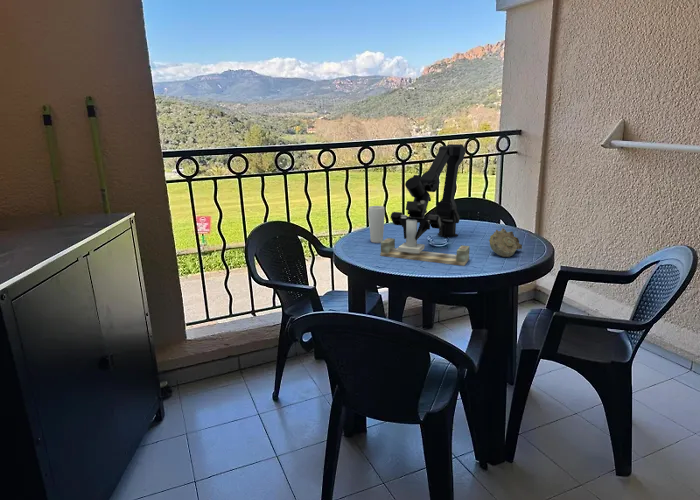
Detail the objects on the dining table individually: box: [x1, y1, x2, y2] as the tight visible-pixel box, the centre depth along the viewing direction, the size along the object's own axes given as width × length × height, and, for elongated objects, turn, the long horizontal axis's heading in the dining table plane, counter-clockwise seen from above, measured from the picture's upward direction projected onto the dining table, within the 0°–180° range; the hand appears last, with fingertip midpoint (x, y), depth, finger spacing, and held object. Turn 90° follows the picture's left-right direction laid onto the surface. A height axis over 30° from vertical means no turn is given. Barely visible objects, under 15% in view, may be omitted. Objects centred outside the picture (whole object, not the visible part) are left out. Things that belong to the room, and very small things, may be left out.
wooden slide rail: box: [379, 237, 471, 267], centre depth 164 cm, size 32×8×6 cm, turn 63°
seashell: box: [488, 227, 523, 258], centre depth 166 cm, size 11×14×10 cm
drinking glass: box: [367, 205, 386, 244], centre depth 185 cm, size 7×7×15 cm
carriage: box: [397, 219, 425, 253], centre depth 164 cm, size 8×7×12 cm
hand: (410, 239), depth 163 cm, fingers closed on carriage, 4 cm apart
